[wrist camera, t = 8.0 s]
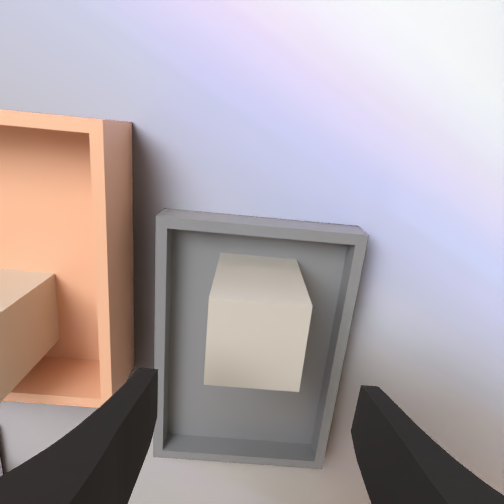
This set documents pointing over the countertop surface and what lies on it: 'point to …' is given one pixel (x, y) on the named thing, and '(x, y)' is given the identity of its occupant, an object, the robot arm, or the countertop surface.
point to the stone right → (257, 323)
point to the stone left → (25, 323)
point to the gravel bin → (72, 246)
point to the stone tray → (195, 332)
